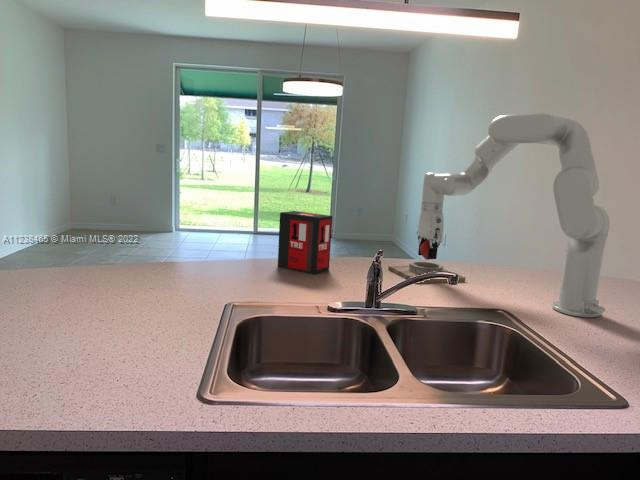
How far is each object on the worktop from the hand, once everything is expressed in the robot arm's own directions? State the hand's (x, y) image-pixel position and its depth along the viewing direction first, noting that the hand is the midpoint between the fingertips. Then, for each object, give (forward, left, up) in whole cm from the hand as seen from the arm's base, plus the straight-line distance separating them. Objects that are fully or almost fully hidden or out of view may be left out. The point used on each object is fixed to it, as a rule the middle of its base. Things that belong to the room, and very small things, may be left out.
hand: (427, 256), depth 182 cm
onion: (0, 0, -1) cm, 1 cm away
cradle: (0, 0, -7) cm, 7 cm away
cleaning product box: (+15, +42, -7) cm, 45 cm away
